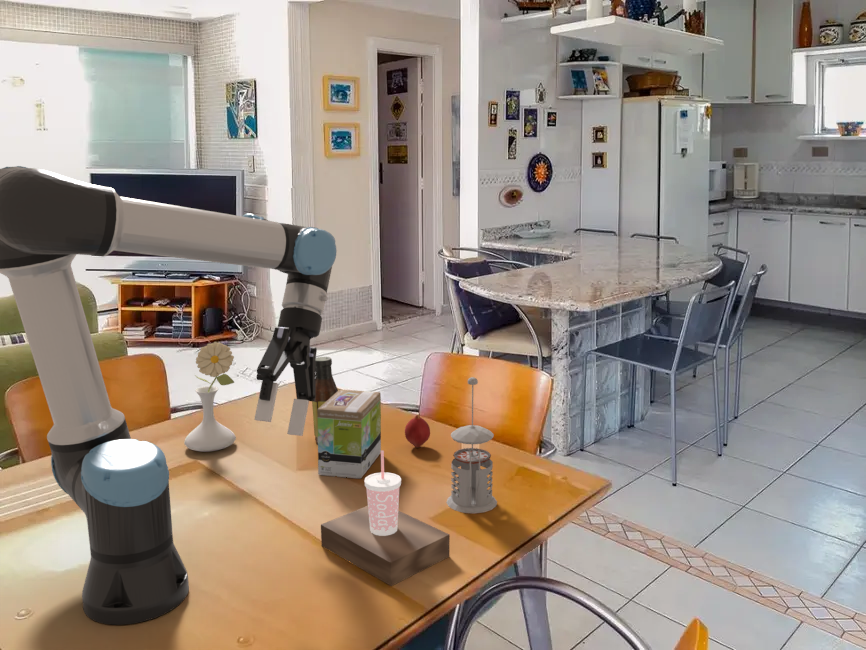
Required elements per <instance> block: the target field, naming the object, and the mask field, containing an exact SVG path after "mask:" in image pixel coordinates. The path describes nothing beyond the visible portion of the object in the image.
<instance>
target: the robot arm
mask: <svg viewBox="0 0 866 650" xmlns="http://www.w3.org/2000/svg"><path fill="white" fill-rule="evenodd" d="M114 251H116V252H125V253H134V254H140V255H141V254H142V255H151V256H159V257H168V258H177V259H184V260H185V259H186V260H194V261H203V262H209V263H210V262H211V263H217V264H218V263H220V264H227V265H236V266H245V267H254V268H262V269H270V270H276V271H279V272H280V273H284V274H286V275H287V279H286V282H285V284H286V285H285V289H284V293H283V297H282V302H281V303H282V304H281V306H282V309H281V310H280V312H279V317H278V324H277V326H274V331H273V334H272V337H271V340H270V342H269V344H268V346H267V347H266V350H265V352H264V354H263V356H262V358H261V360H260V362H259V364H258V366H257V368H256V380H257V381H261V385H260V389H259V394H258V400H257V404H256V405H257V406H256V410H255V415H254V419H253V420H254V421H257V422H258V421H259V422H266V423H267V422H269V423H271V422H272V420H273V414H274V410H275V408H274V407H275V403H276V399H277V393H278V388H279V385H280V384H279V382H277V380H278V379H279V378H280V376H281V375H282V374H283V372H284V370H285V369H286V367H287V366H288V365H290V368H291V369H292V371H293V377H294V378H293V379H294V385H295V395H296V396H295V397H296V398H293V400H292V401H293V402H292V407H291V412H290V418H289V421H288V422H289V423H288V429H287V434H288V435H289V436H290V435H291V436H300V437H303V434H304V430H305V425H306V420H307V419H306V418H307V415H308V408H309V403H310V402H312V401H315V397H316V380H315V379H316V377H315V375H316V372H315V360H316V358H317V347H315V346H311V339H313V338H317V337H318V336H319V335H320V333H321V327H322V322H323V318H322V315H323V314H324V310H325V304H326V302H327V301H328V295H327V294H328V289H329V283H330V279H331V274H332V269H333V265H334V263H335V261H336V257H337V245H336V239H335V237H334V236H333V235H332V233H330V232H329V231H327V230H325V229H322V228H318V227H313V226H303V225H297V224H296V225H295V224H291V223H290V224H289V223H284V222H277V221H272V220H268V219H266V218H264V217H263V216H259V215H256V214H253V213H251V212H250V213H249V212H247V213H245V214H243V215H242V216H241V215H240V216H239V215H236V214H235V215H234V214H229V213H223V212H219V211H218V212H217V211H212V210H211V211H210V210H205V209H199V208H191V207H187V206H182V205H181V206H180V205H176V204H175V205H174V204H170V203H169V204H167V203H161V202H155V201H150V200H143V199H137V198H132V197H131V198H130V197H125V196H120V195H119V194H118V193H117V192H116V190H115V189H114V188H112V187H111V186H110V187H109V186H103V185H97V184H92V183H89V182H85V181H81V180H77V179H75V178H72V177H68V176H66V175H62V174H59V173H57V172H53V171H50V170H47V169H43V168H42V169H41V168H38V167H37V168H35V167H26V166H21V165H16V166H5V167H1V168H0V274H1V275H2V276H5V277H6V278H7V279H8V282H9V284H10V288H11V291H12V294H13V297H14V301H15V304H16V306H17V310H18V313H19V316H20V319H21V323H22V327H23V329H24V332H25V336H26V339H27V342H28V347H29V348H30V352H31V355H32V358H33V361H34V365H35V367H36V370H37V374H38V377H39V380H40V384H41V387H42V391H43V393H44V396H45V399H46V403H47V406H48V409H49V413H50V416H51V419H52V422H53V425H52V427H51V428H50V430H49V431H48V433H47V435H46V439H47V442H48V445H49V446H48V447H49V448H50V452H51V456H50V464H51V471H52V472H51V473H52V475H53V478H54V480H55V482H56V483H57V485H58V486H59V488H60V489H61V490H62V491H63V492H64V493H65V494H67V495H68V496H69V497H70V498H71V500H72V501H73V502H74V503H75V504H76V505H77V506H78V508H80V510H81V511H82V512H83V513H84V515H85V517H86V523H87V531H88V533H87V534H88V541H89V551H90V560H89V565H88V568H87V572H86V576H85V579H84V584H83V587H82V593H81V597H82V599H81V600H82V608H83V612H84V614H85V615H86V616H87V617H88V618H89V619H90V620H92V621H93V622H94V621H95V622H98V623H101V624H105V625H112V626H113V625H116V626H117V625H118V626H120V625H132V624H137V623H143V622H146V621H150V620H153V619H155V618H158V617H160V616H164V615H165V614H167V613H169V612H171V611H172V610H174V609H176V608H177V607H178V606H180V604H181V603H183V601H184V600H185V599H186V597H188V596H187V595H188V594H189V590H190V586H189V585H190V584H189V574H188V571H187V568H186V567H185V565H184V563H183V560H182V557H181V556H180V554H179V552H178V548H176V545H175V543H174V539H173V538H174V536H173V523H172V522H173V521H172V520H173V519H172V509H171V495H170V494H171V493H170V483H169V482H170V470H169V466H168V464H167V459H166V455H165V453H164V451H163V449H161V448H160V447H159V446H157V445H156V444H154V443H152V442H151V441H147V440H142V441H140V440H139V439H135V438H132V437H131V434H130V431H129V428H128V425H127V421H126V417H125V414H124V413H123V412H122V411H120V410H118V409H116V408H113V407H112V405H111V401H110V398H109V394H108V392H107V387H106V384H105V381H104V377H103V374H102V369H101V366H100V362H99V360H98V356H97V352H96V349H95V346H94V341H93V339H92V335H91V331H90V328H89V325H88V321H87V317H86V314H85V311H84V307H83V303H82V300H81V296H80V293H79V289H78V286H77V283H76V279H75V275H74V272H73V269H72V262H73V260H75V258H76V256H77V255H83V256H93V257H95V256H96V257H101V258H102V257H104V258H105V257H107V256H108V255H109V254H111V253H112V252H114Z"/></svg>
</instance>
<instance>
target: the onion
mask: <svg viewBox="0 0 866 650" xmlns="http://www.w3.org/2000/svg"><path fill="white" fill-rule="evenodd" d="M430 436H431V428H430V425H429V423H428V422H427V421H426V420H425V419H424V418H422V417H421V415H420V414H418V413H417V414H415V416H414V417H412V418H411V419H410V420H408V422H407V423H406V424H405V427H404V437H405V439H406V440H407V442H409V443H410V444H411V445H412V446H414V448H417V449H418V448H421V447H422V446H423V445H424V444H425V443H426V442H427V441H428V440H429V439H430Z"/></svg>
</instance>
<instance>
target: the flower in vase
mask: <svg viewBox="0 0 866 650" xmlns="http://www.w3.org/2000/svg"><path fill="white" fill-rule="evenodd" d="M234 358H235V356H234V355H233V352H232V350H231V347H230V346H228V345H225V344H223V343H222V342H218V341H214V342H212V343H207V344H206V345H205V346H202V347H201V348H200V350H199V351H198V353H197V357H196V359H195V360H196V361H195V364H196V365H197V368H198V371H199V373H201V374H204V375H205V376H209V377H211V378H214V379H213V380H212V382H209V380H207V379H204V378H202V377H198V376H197V375H195V373H194V376H195V377H196V379H199V380H201V381H203V382H206V383H209V384H210V385H207V386H201V387H197V388H195V390H194V391H195V392H196V394H197V395H198V396H199V398H200V401H201V404H202V405H201V406H202V412H203V417H202V421H201V422H200V424H198V425H197V426H196V427H195V428H193V429H192V430H191V432H189V433H188V434H187V436H186V437H185V439H184V441H183V442H184V445H185V447H186V448H188V449H189V450H191V451H196V452H214V451H219V450H223V449H225V448H228V447H230V446H232V445H233V444H234V443H235V441H236V439H237V437H236V435H235V433H234V432H233V431H232V430H231V429H230V428H228V427H226V426H225V425H224V424H222V423H220V422H219V421H217V419H216V418H215V415H214V400H215V396H216V394H217V392H218V390H219V387H217V386H213V385H214V383H215V382H216V381H217V382H218V384H219V385H220V386H228V385H232V384H234V383H235V381H234V380H233V378H231V377H230V375H228V374H226V373H228V372H229V370H230V367H231V366H232V364H233V362H234Z"/></svg>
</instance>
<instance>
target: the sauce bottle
mask: <svg viewBox="0 0 866 650" xmlns="http://www.w3.org/2000/svg"><path fill="white" fill-rule="evenodd" d="M332 364H333V360H332V358H331V357H329V356H320V357H316V360H315V380H316V397H315V401H311V403H312V404H311V406H312V408H311V409H312V417H313V418H312V419H313V421H312V422H313V432H314V440H315V442H316V443H318V408H319V407H320V406H322V405H323V404H324V403H325V402H326V401H327V400H328V399H330V398H331V397H332V396H333V395H334V394H335V393H336V392H337V391H338V390H339V389H338V386H337V385H336V382H335V380H334V377H333V371H332Z"/></svg>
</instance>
